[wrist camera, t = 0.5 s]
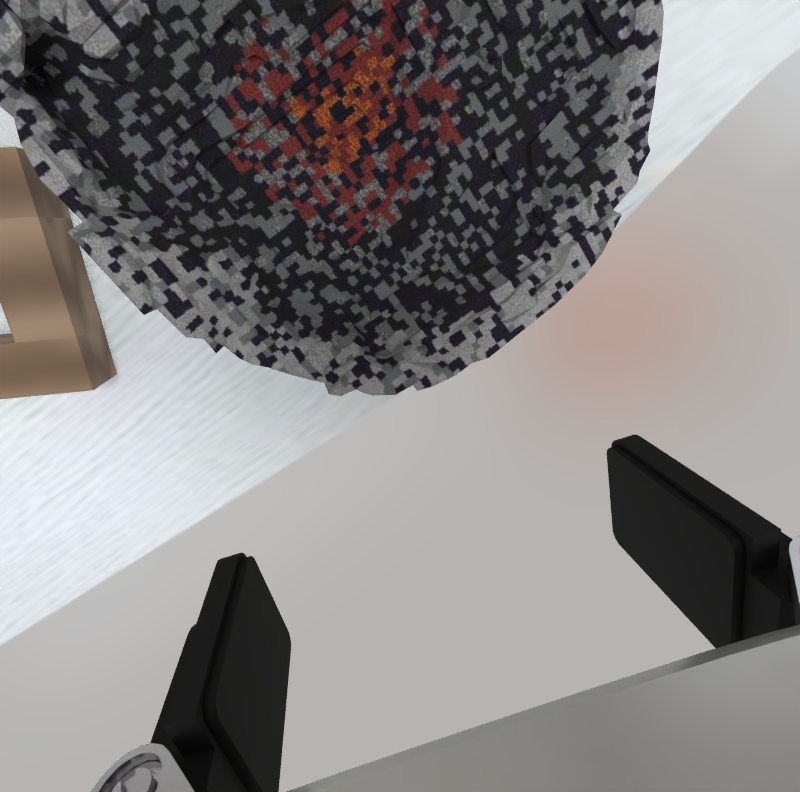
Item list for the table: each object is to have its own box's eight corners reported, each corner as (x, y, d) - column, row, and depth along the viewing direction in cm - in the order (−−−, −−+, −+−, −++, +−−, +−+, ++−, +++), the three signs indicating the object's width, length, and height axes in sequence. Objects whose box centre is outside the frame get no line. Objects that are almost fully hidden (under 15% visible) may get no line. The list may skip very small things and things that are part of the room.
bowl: (319, 404, 41) (314, 494, 27) (12, 55, 29) (-273, -103, 15) (611, 188, 38) (775, 163, 24) (399, -290, 27) (477, -860, 13)
